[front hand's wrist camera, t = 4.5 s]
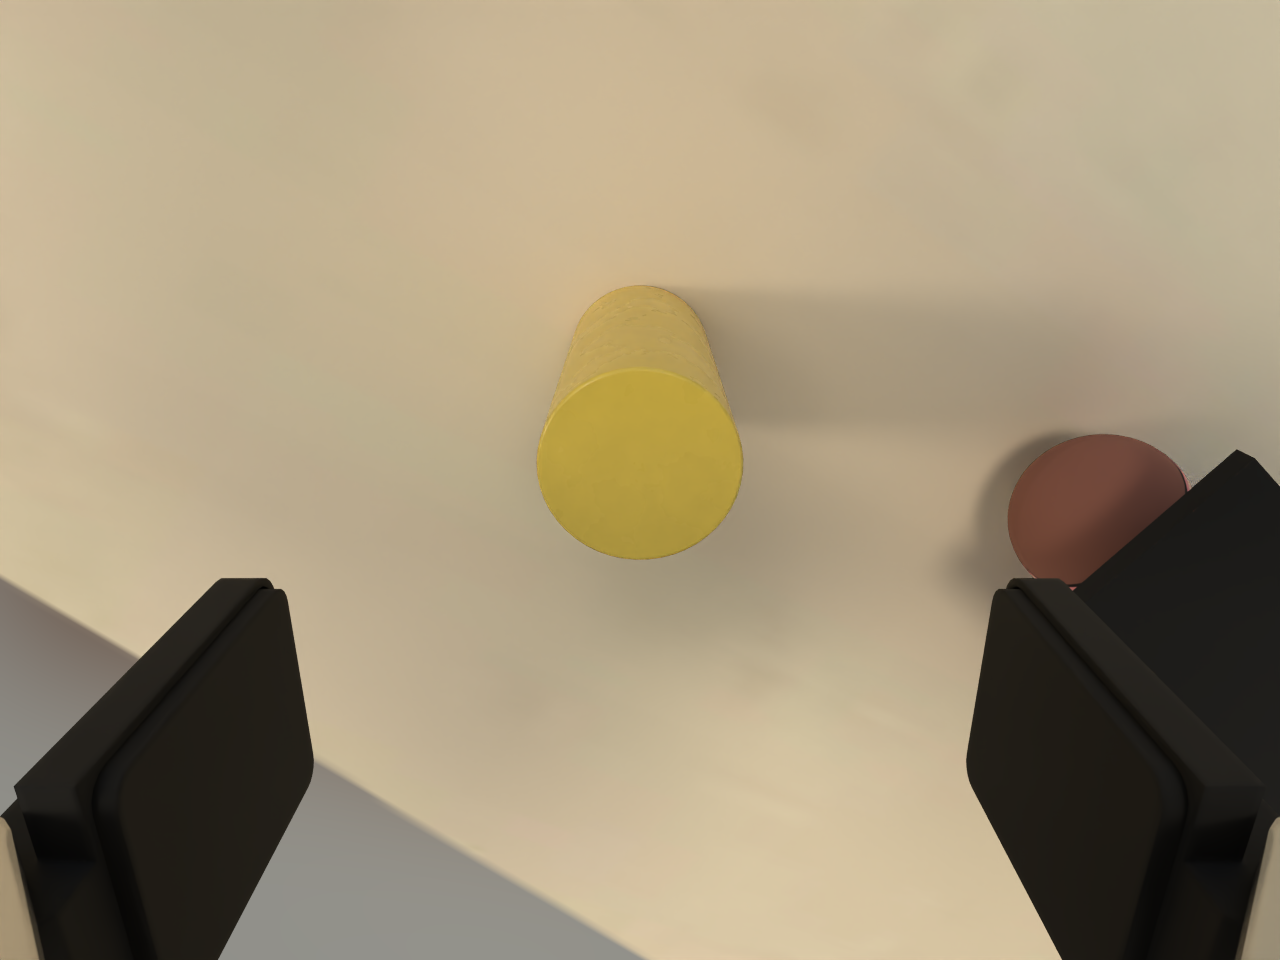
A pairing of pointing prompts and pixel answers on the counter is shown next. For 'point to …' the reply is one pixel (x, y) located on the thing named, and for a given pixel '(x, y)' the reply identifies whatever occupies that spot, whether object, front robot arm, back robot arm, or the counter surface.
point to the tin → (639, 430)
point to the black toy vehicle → (1170, 574)
